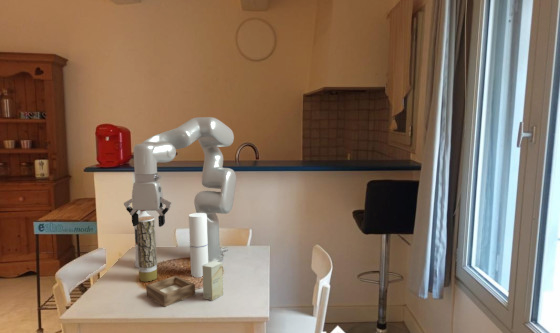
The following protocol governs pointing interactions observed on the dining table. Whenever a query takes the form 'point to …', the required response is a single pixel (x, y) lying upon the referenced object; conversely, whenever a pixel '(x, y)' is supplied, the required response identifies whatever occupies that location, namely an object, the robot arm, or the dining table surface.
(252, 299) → the dining table surface
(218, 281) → the skincare box
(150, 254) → the paper tube
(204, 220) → the cylindrical container
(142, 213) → the vodka
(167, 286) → the brown wooden square tray
